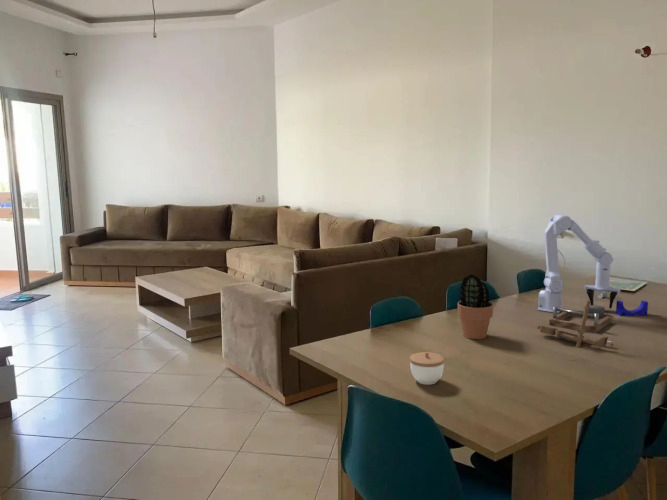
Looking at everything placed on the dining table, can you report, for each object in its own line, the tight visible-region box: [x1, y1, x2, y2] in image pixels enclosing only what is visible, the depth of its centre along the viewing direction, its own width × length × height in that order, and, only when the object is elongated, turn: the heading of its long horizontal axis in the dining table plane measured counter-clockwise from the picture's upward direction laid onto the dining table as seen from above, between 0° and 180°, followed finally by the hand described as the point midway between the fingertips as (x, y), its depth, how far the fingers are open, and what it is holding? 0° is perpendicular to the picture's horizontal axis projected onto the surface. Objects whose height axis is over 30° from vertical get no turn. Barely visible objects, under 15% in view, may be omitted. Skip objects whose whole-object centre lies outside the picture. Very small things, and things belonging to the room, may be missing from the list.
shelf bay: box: [548, 311, 612, 334], centre depth 232 cm, size 18×20×2 cm
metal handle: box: [552, 307, 600, 325], centre depth 227 cm, size 18×2×7 cm, turn 47°
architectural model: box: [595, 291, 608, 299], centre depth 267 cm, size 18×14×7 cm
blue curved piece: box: [615, 300, 649, 317], centre depth 244 cm, size 12×4×6 cm, turn 85°
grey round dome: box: [588, 304, 606, 318], centre depth 245 cm, size 8×8×4 cm
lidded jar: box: [409, 351, 445, 386], centre depth 174 cm, size 11×11×9 cm
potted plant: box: [457, 273, 494, 340], centre depth 218 cm, size 14×14×25 cm
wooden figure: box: [536, 299, 612, 348], centre depth 210 cm, size 14×18×25 cm
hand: (601, 306), depth 252 cm, fingers open, 7 cm apart
